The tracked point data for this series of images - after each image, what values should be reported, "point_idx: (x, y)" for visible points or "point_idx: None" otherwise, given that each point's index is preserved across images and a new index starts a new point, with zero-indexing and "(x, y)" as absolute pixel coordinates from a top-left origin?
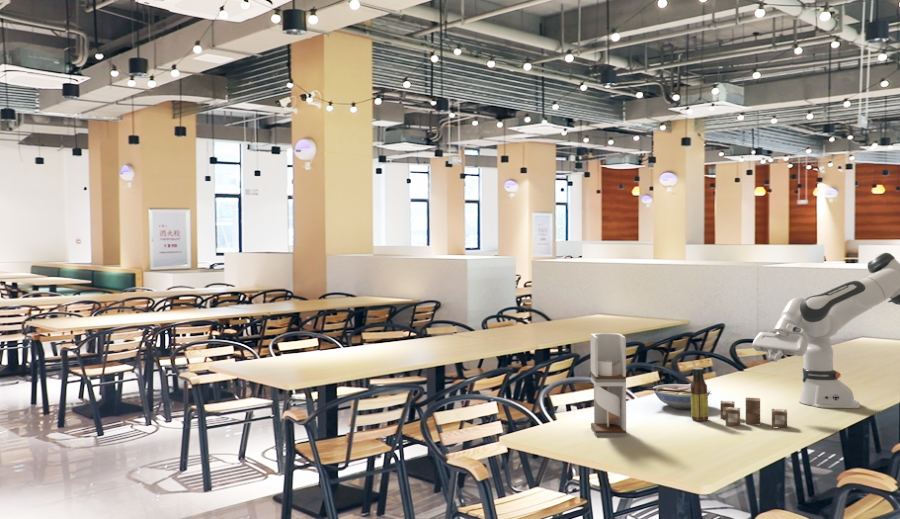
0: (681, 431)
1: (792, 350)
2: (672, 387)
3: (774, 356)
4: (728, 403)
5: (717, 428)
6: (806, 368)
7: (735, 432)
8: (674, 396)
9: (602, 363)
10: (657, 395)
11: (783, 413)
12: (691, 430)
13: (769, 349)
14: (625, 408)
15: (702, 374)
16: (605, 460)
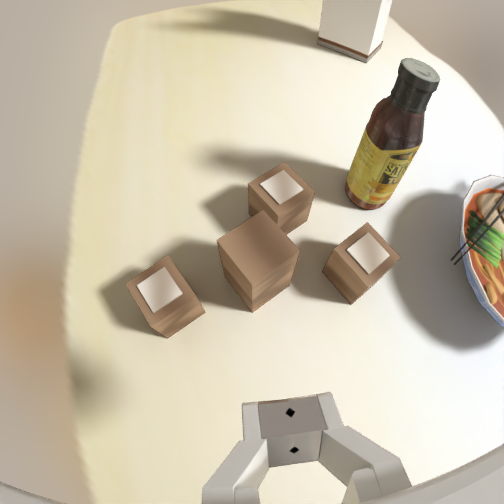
0: (297, 98)
1: (36, 495)
2: None
3: (264, 425)
4: (353, 241)
5: (273, 159)
6: None
7: (218, 162)
8: (477, 186)
9: None
10: None
11: (137, 278)
12: (292, 113)
13: (401, 480)
14: (322, 5)
15: (399, 84)
16: (240, 2)
